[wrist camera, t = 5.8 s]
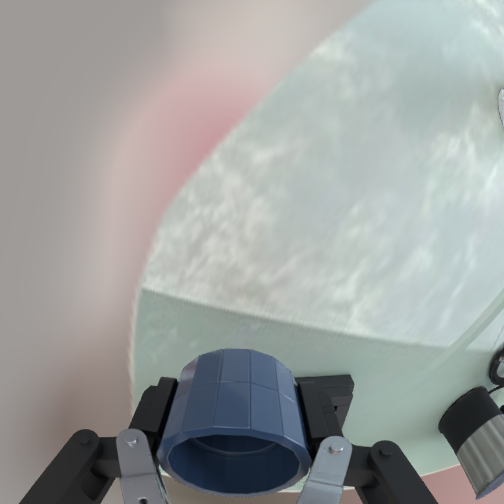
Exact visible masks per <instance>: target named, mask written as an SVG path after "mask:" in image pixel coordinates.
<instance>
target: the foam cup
mask: <svg viewBox="0 0 504 504" xmlns="http://www.w3.org/2000/svg"><path fill="white" fill-rule="evenodd" d="M498 104H499V112H500V116H501V120H502V123H503V125H504V89H501V91H500V94H499V96H498Z"/></svg>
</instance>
